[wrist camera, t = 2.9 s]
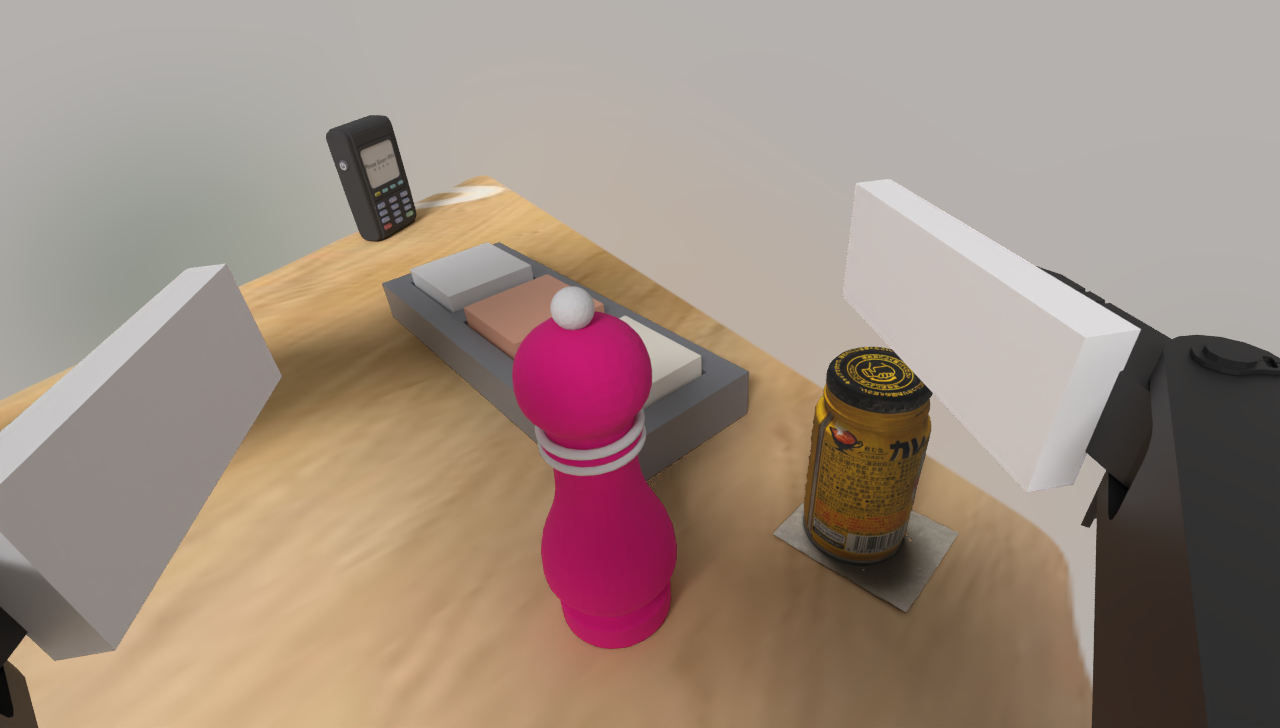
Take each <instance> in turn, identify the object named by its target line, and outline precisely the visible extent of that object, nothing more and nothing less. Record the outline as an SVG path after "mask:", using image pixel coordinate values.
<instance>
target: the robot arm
mask: <svg viewBox="0 0 1280 728" xmlns="http://www.w3.org/2000/svg"><path fill="white" fill-rule="evenodd" d="M843 297H844V298H845V300H846V301H847V302H848V303H849V304H850V305H851V306H852V307H853V308H854V309H855V310H856V311H857V312H858V313H859V314H860V315H861V317H862V318H863V319H864V320H865V321H866V322H867V323H868V324H869V325H870V326H871V327H872V328H873V329H874V330H875V332H876V333H877V334H878V335H879V336H880V337H881V338H882V339H883V340H884V341H885V342H886V343H887V344H888V346H889V347H890V348H891V349H892V350H893V351H894V352H895V353H896V354H897V355H898V356H899V357H900V358H901V359H902V360H903V362H904V363H905V364H906V365H907V366H908V367H909V368H910V369H911V370H912V371H913V372H914V373H915V374H916V375H917V376H918V378H919V379H920V380H921V381H922V382H923V383H924V384H925V385H926V386H927V387H928V388H929V389H930V390H931V391H932V392H933V394H934V395H935V396H936V397H937V398H938V399H939V400H940V401H941V402H942V403H943V404H944V405H945V406H946V407H947V409H948V410H949V411H950V412H951V413H952V414H953V415H954V416H955V417H956V418H957V419H958V420H959V421H960V422H961V423H962V425H963V426H964V427H965V428H966V429H967V430H968V431H969V432H970V433H971V434H972V435H973V436H974V437H975V438H976V439H977V441H978V442H979V443H980V444H981V445H982V446H983V447H984V448H985V449H986V450H987V451H988V452H989V453H990V454H991V455H992V456H993V457H994V459H995V460H996V461H997V462H998V463H999V464H1000V465H1001V466H1002V467H1003V468H1004V469H1005V470H1006V471H1007V473H1008V474H1009V475H1010V476H1011V477H1013V479H1014V480H1015V481H1016V482H1017V483H1018V484H1019V485H1020V486H1021V487H1022V489H1023V490H1024V491H1025V492H1033V491H1039V490H1045V489H1050V488H1055V487H1062V486H1067V485H1073V484H1074V482H1075V479H1076V477H1077V475H1078V473H1079V470H1080V468H1081V465H1082V463H1083V461H1084V459H1085V456H1086V454H1087V453H1088V454H1089V455H1090V456H1091V457H1092V458H1093V459H1094V460H1096V461H1097V462H1098V463H1099V464H1100V465H1101V466H1102V467H1104V468H1105V469H1106V472H1105V474H1104V476H1103V479H1102V481H1101V483H1100V485H1099V487H1098V489H1097V491H1096V494H1095V496H1094V498H1093V500H1092V502H1091V504H1090V506H1089V508H1088V510H1087V513H1086V515H1085V517H1084V519H1083V521H1082V524H1081V525H1082V526H1085V527H1090V526H1091V524H1092V522H1093V520H1094V519H1095V518H1097V535H1096V577H1095V621H1094V662H1093V704H1092V728H1280V358H1278V357H1277V356H1275V355H1273V354H1272V353H1270V352H1268V351H1265V350H1262V349H1260V348H1257V347H1255V346H1252V345H1250V344H1247V343H1244V342H1240V341H1235V340H1231V339H1227V338H1223V337H1215V336H1204V335H1190V336H1179V337H1176V338H1174V339H1171V338H1169V337H1167V336H1166V335H1164V334H1162V333H1160V332H1159V331H1157V330H1155V329H1154V328H1152V327H1150V326H1148V325H1147V324H1145V323H1143V322H1142V321H1140V320H1138V319H1136V318H1135V317H1133V316H1131V315H1130V314H1128V313H1126V312H1124V311H1123V310H1121V309H1119V308H1118V307H1116V306H1114V305H1112V304H1111V303H1106V304H1105V300H1104V299H1102V298H1101V297H1099V296H1097V295H1095V294H1094V293H1092V292H1090V291H1089V292H1085V288H1083V287H1082V286H1080V285H1078V284H1077V283H1075V282H1073V281H1071V280H1070V279H1068V278H1066V277H1065V276H1063V275H1061V274H1058V273H1055V272H1052V271H1049V270H1046V269H1043V268H1040V267H1037V266H1034V265H1033V264H1031V263H1029V262H1028V261H1026V260H1024V259H1023V258H1021V257H1019V256H1018V255H1016V254H1014V253H1013V252H1011V251H1009V250H1008V249H1006V248H1004V247H1003V246H1001V245H999V244H997V243H996V242H994V241H993V240H991V239H989V238H988V237H986V236H984V235H983V234H981V233H979V232H977V231H976V230H974V229H973V228H971V227H969V226H968V225H966V224H964V223H962V222H961V221H959V220H958V219H956V218H954V217H952V216H951V215H949V214H947V213H946V212H944V211H942V210H941V209H939V208H937V207H936V206H934V205H932V204H931V203H929V202H927V201H926V200H924V199H922V198H921V197H919V196H917V195H916V194H914V193H912V192H911V191H909V190H907V189H905V188H904V187H902V186H901V185H899V184H897V183H895V182H894V181H892V180H890V179H886V180H878V181H869V182H862V183H856V187H855V196H854V204H853V212H852V221H851V229H850V238H849V246H848V255H847V263H846V271H845V281H844V289H843ZM281 377H282V375H281V373H280V371H279V369H278V367H277V365H276V363H275V361H274V359H273V357H272V355H271V353H270V351H269V349H268V347H267V345H266V343H265V341H264V339H263V337H262V335H261V333H260V331H259V329H258V326H257V324H256V322H255V320H254V318H253V316H252V314H251V312H250V310H249V308H248V306H247V304H246V302H245V300H244V298H243V296H242V294H241V292H240V290H239V288H238V286H237V284H236V282H235V280H234V278H233V276H232V274H231V272H230V270H229V268H228V266H227V264H220V265H212V266H204V267H196V268H188V269H186V270H185V271H183V272H182V273H181V274H180V275H179V276H178V277H177V278H175V279H174V280H173V281H172V282H171V283H170V284H169V285H168V286H166V287H165V288H164V289H163V290H162V291H161V292H159V293H158V294H157V295H156V296H155V297H154V298H153V299H151V301H149V302H148V303H147V304H146V305H145V306H144V307H142V308H141V309H140V310H139V311H138V312H137V313H136V314H134V315H133V316H132V317H131V318H130V319H129V320H128V321H126V322H125V323H124V324H123V325H122V326H121V327H120V328H118V329H117V330H116V331H115V332H114V333H113V334H112V335H110V336H109V337H108V338H107V339H106V340H105V341H104V342H102V343H101V344H100V345H99V346H98V347H97V348H96V349H94V350H93V351H92V352H91V353H90V354H89V355H88V356H86V357H85V358H84V359H83V360H82V361H81V362H80V363H78V364H77V365H76V366H75V367H74V368H73V369H72V370H71V371H69V372H68V373H67V374H66V375H65V376H64V377H63V378H61V379H60V380H59V381H58V382H57V383H56V384H55V385H53V386H52V387H51V388H50V389H49V390H48V391H47V392H45V393H44V394H43V395H42V396H41V397H40V398H39V399H37V400H36V401H35V402H34V403H33V404H32V405H31V406H29V407H28V408H27V409H26V410H25V411H24V412H23V413H21V414H20V415H19V416H18V417H17V418H16V419H15V420H13V421H12V422H11V423H10V424H9V425H8V426H7V427H6V428H4V429H3V430H2V431H1V432H0V728H38V725H37V721H36V717H35V714H34V710H33V706H32V702H31V699H30V695H29V691H28V687H27V684H26V680H25V677H24V676H23V675H22V673H21V672H20V671H19V670H18V669H17V668H16V667H15V666H13V665H12V664H11V663H10V662H9V661H8V660H7V659H8V658H9V657H10V655H11V654H12V653H13V651H14V650H15V649H16V647H17V646H18V645H19V643H20V642H21V641H22V639H23V638H24V637H25V635H27V636H29V637H30V638H31V639H32V640H33V641H34V642H35V643H36V644H37V645H38V646H39V647H40V648H42V649H43V650H44V651H45V652H46V653H47V654H48V655H49V656H50V657H51V658H52V659H54V660H55V661H57V660H62V659H68V658H74V657H80V656H85V655H91V654H97V653H103V652H109V651H114V650H116V648H117V647H118V645H119V643H120V642H121V640H122V638H123V637H124V635H125V633H126V632H127V630H128V628H129V627H130V625H131V624H132V622H133V620H134V619H135V617H136V615H137V614H138V612H139V610H140V609H141V607H142V605H143V604H144V602H145V601H146V599H147V597H148V596H149V594H150V592H151V591H152V589H153V587H154V586H155V584H156V582H157V581H158V579H159V578H160V576H161V574H162V573H163V571H164V569H165V568H166V566H167V564H168V563H169V561H170V560H171V558H172V556H173V555H174V553H175V551H176V550H177V548H178V546H179V545H180V543H181V541H182V540H183V538H184V537H185V535H186V533H187V532H188V530H189V528H190V527H191V525H192V523H193V522H194V520H195V518H196V517H197V515H198V514H199V512H200V510H201V509H202V507H203V505H204V504H205V502H206V500H207V499H208V497H209V496H210V494H211V492H212V491H213V489H214V487H215V486H216V484H217V482H218V481H219V479H220V477H221V476H222V474H223V473H224V471H225V469H226V468H227V466H228V464H229V463H230V461H231V459H232V458H233V456H234V454H235V453H236V451H237V450H238V448H239V446H240V445H241V443H242V441H243V440H244V438H245V436H246V435H247V433H248V432H249V430H250V428H251V427H252V425H253V423H254V422H255V420H256V418H257V417H258V415H259V413H260V412H261V410H262V409H263V407H264V405H265V404H266V402H267V400H268V399H269V397H270V395H271V394H272V392H273V390H274V389H275V387H276V386H277V384H278V382H279V381H280V379H281Z"/></svg>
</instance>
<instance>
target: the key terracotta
mask: <svg viewBox="0 0 1280 728" xmlns="http://www.w3.org/2000/svg"><path fill="white" fill-rule="evenodd" d="M565 287H571V286H569V285H567V284H565V283H563V282H561V281H560V280H558V279H556V278H554V277H552V276H550V275H548V274H546V275H544V276H541V277H539V278H536V279H534V280H531V281H529V282H526V283H524V284H521V285H519V286H516V287H514V288H511V289H509V290H506V291H503V292H501V293H498V294H496V295H493V296H491V297H488V298H486V299H483V300H481V301H478V302H476V303H473V304H471V305H468V306H466V307H463V308H464V311H465V315H466V319H467V323H468V326H469V327H470V328H471V329H473V330H474V331H475V332H477V333H478V334H479V335H481V336H482V337H483V338H485V339H486V340H487V341H489V342H490V343H491V344H493V345H494V346H495V347H497V348H498V349H499V350H501V351H502V352H503V353H505V354H506V355H507V356H509V357H510V358H511V359H513V360H514V358H515V354H516V352H517V350H518V348H519V346H520V344H521V342H522V341H523V339H524V338H525V337H526V336H527V335H528V334H529V333H530V332H531V331H532V330H533V329H534V328H535V327H536V326H538V325H539V324H541V323H543V322H544V321H546V320H547V319H549V318H551V317H552V314H551V310H550V307H551V301H552V299H553V297H554V296H555V294H556V293H557V292H558V291H560V290H561V289H563V288H565ZM592 299H593V298H592ZM593 301H594V307H595V311H597V312H603V313H605V312H604V304H603V303H601V302H599V301H597V300H595V299H593Z"/></svg>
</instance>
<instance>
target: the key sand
mask: <svg viewBox="0 0 1280 728" xmlns="http://www.w3.org/2000/svg"><path fill="white" fill-rule="evenodd" d="M619 319H621V320H623V321H624V322H626V323H627V324H628V325H629V326H630V327H632V328H633V329H634V330H635V331H636V332H637V333H638V334H639V336H640V337H641V339H642V340H643V342H644V344H645V346H646V348H647V351H648V354H649V357H650V360H651V366H652V386H651V390H650V394H649V397H648V399H647V401H646V402H645V404H644V406H643V407H642V408H643V410H644V409H646V408H647V407H649V406H651V405H652V404H654V403H656V402H657V401H659V400H661V399H662V398H664V397H666V396H668V395H669V394H671V393H673V392H674V391H676V390H678V389H679V388H681V387H683V386H685V385H686V384H688V383H690V382H691V381H693V380H695V379H696V378H698V377H700V376H701V375H702V371H701V355H699V354H697V353H695V352H693V351H691V350H689V349H688V348H686V347H684V346H682V345H680V344H678V343H676V342H674V341H672V340H671V339H669V338H667V337H665V336H663V335H661V334H659V333H657V332H656V331H654V330H652V329H650V328H648V327H646V326H644V325H642V324H640V323H639V322H637V321H635V320H633V319H631V318H629V317H627V316H623V317H621V318H619Z"/></svg>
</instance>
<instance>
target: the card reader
mask: <svg viewBox="0 0 1280 728" xmlns="http://www.w3.org/2000/svg"><path fill="white" fill-rule="evenodd" d="M326 139H327V143H328V146H329V149H330V152H331V154H332V157H333V160H334V163H335V166H336V169H337V171H338V174H339V177H340V180H341V183H342V186H343V189H344V191H345V194H346V197H347V200H348V203H349V205H350V208H351V211H352V214H353V216H354V219H355V222H356V224H357V227H358V230H359V232H360V234H361V236H362V237H363V238H364V239H365V240H372V241H378V240H383V239H385V238H387V237H388V236H390V235H392V234H393V233H395V232H397V231H398V230H400V229H402V228H403V227H405V226H407V225H408V224H410V223H412V222H413V221H414V220H415V218H416V210H415V206H414V202H413V199H412V195H411V191H410V187H409V184H408V180H407V176H406V173H405V170H404V166H403V162H402V159H401V155H400V152H399V148H398V145H397V141H396V138H395V134H394V131H393V127H392V124H391V122H390V120H389V118H387V117H386V116H380V115H379V116H378V115H376V116H375V115H370V116H367V117H364V118H361V119H358V120H355V121H352V122H350V123H347V124H344V125H341V126H338V127H335V128H333V129H330V130H329V132H328V133H327V134H326Z"/></svg>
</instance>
